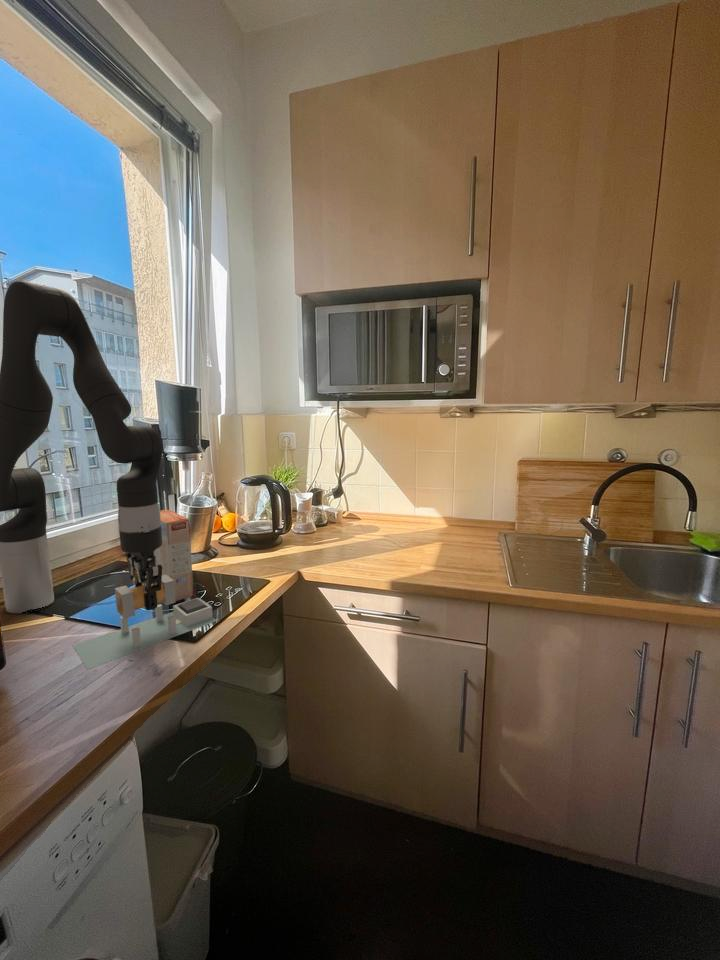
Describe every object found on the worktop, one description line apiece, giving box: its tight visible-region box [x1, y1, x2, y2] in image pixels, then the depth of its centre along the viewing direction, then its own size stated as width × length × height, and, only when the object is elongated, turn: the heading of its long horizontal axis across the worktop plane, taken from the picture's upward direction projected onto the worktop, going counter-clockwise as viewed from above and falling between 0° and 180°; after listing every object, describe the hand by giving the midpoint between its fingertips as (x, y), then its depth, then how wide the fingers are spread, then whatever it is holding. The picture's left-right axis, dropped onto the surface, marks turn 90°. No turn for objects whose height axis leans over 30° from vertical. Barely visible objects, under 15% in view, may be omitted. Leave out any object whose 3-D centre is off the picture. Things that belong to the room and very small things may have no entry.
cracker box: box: [154, 509, 194, 602], centre depth 106 cm, size 14×6×21 cm, turn 44°
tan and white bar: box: [114, 575, 177, 619], centre depth 86 cm, size 4×10×5 cm, turn 136°
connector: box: [179, 598, 205, 614], centre depth 94 cm, size 4×4×3 cm
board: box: [72, 597, 218, 670], centre depth 87 cm, size 11×25×4 cm, turn 136°
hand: (146, 604), depth 86 cm, fingers closed on tan and white bar, 4 cm apart
